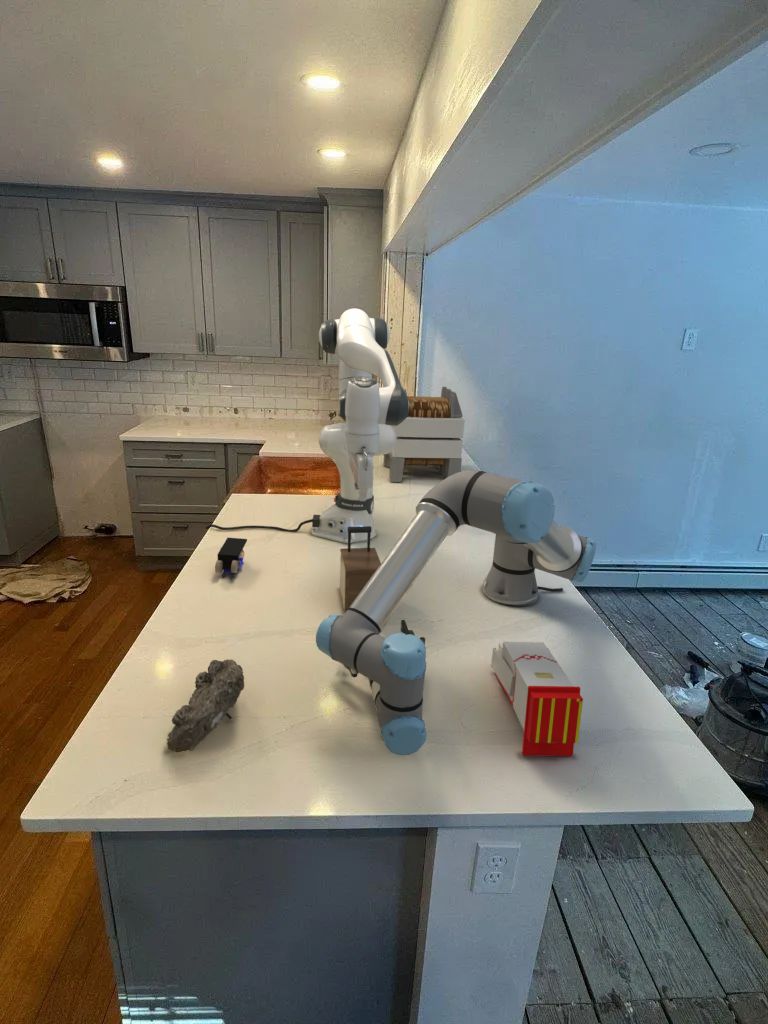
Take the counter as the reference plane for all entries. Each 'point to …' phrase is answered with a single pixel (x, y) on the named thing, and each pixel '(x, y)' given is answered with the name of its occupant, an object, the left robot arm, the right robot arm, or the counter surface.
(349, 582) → the chest
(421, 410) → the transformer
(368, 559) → the lid
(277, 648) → the counter surface
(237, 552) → the black wheeled toy vehicle
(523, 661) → the toy
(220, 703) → the fossil
